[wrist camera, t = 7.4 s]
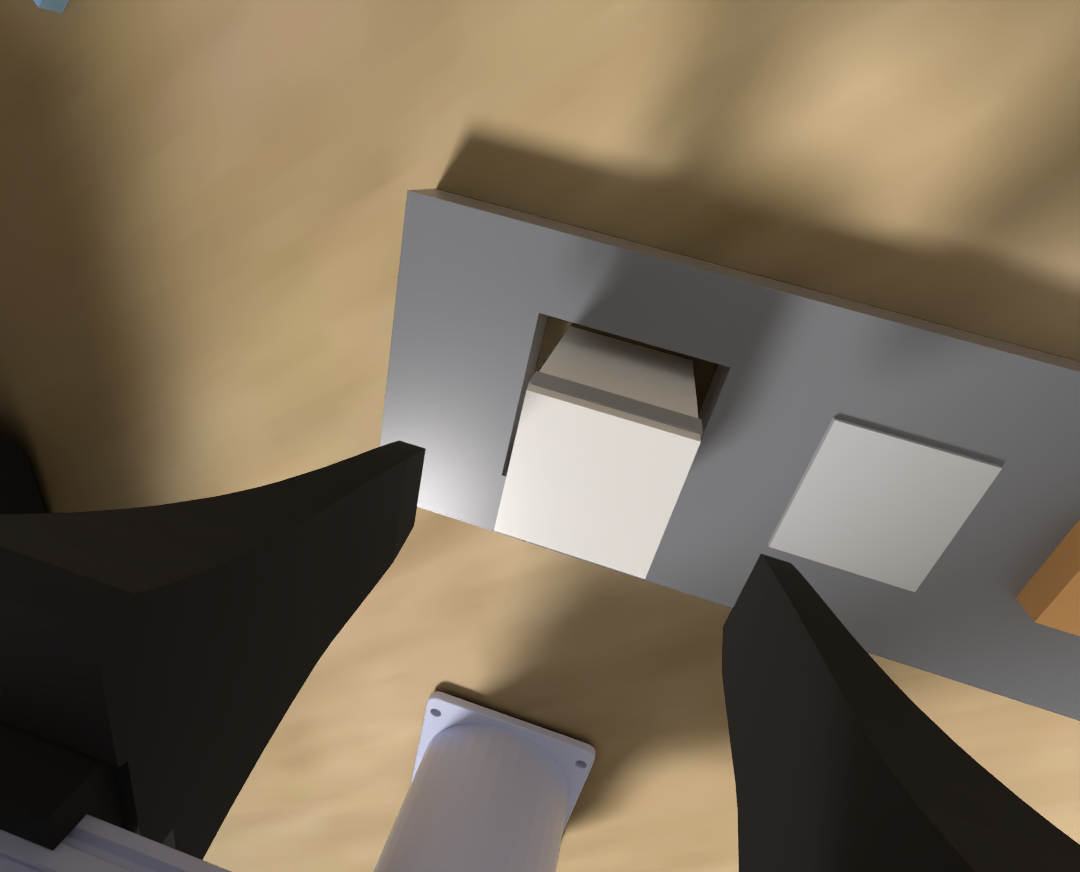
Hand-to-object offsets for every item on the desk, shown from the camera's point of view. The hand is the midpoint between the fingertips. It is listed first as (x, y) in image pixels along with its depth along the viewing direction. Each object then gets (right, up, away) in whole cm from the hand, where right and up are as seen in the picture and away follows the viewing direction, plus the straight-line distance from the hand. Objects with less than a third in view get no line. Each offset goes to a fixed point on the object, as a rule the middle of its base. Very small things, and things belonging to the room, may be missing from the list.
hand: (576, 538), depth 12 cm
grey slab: (+6, +2, +6) cm, 9 cm away
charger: (+2, +3, +7) cm, 8 cm away
